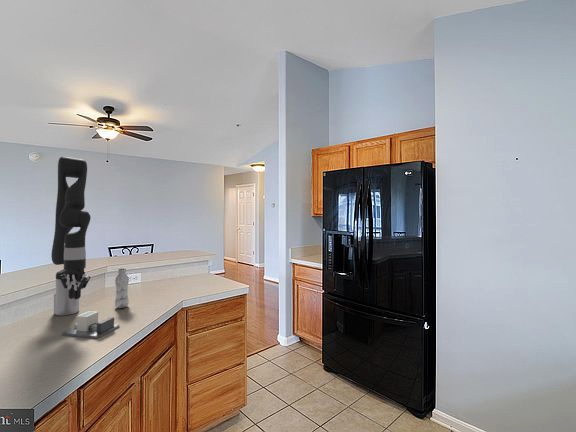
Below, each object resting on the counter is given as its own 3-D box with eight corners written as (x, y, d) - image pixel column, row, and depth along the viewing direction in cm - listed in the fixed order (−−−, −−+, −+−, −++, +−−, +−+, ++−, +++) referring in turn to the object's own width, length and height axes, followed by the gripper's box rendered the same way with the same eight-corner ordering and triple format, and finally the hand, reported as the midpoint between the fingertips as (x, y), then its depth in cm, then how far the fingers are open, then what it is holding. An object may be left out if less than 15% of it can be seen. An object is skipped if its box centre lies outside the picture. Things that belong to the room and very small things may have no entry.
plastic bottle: (112, 310, 147) (113, 270, 146) (116, 306, 153) (117, 268, 153) (126, 309, 148) (127, 270, 148) (130, 305, 155) (130, 267, 155)
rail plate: (62, 335, 117) (62, 322, 117) (87, 323, 129) (87, 312, 129) (96, 338, 114) (97, 326, 114) (119, 326, 126) (119, 315, 126)
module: (76, 330, 119) (76, 315, 119) (88, 324, 125) (89, 310, 125) (86, 331, 119) (86, 316, 119) (98, 325, 125) (98, 311, 125)
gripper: (52, 258, 120) (52, 300, 120) (81, 260, 118) (81, 302, 118) (69, 255, 127) (68, 295, 128) (96, 257, 125) (96, 297, 125)
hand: (74, 298), depth 123 cm, fingers closed
